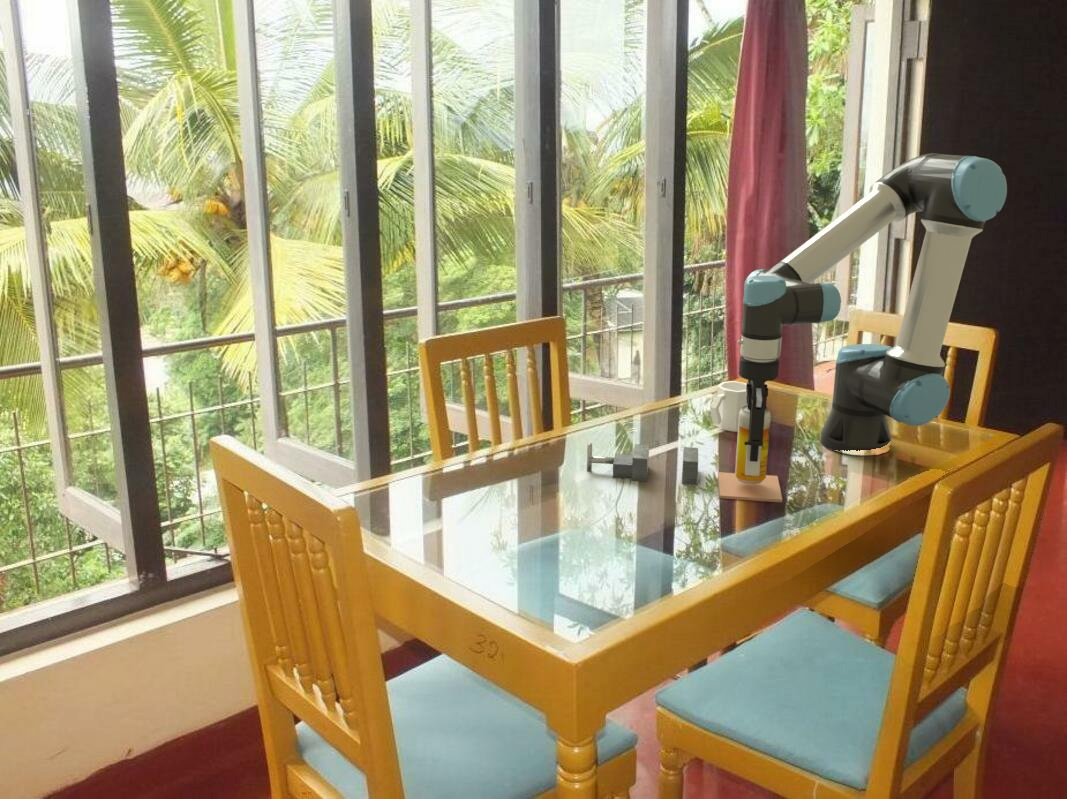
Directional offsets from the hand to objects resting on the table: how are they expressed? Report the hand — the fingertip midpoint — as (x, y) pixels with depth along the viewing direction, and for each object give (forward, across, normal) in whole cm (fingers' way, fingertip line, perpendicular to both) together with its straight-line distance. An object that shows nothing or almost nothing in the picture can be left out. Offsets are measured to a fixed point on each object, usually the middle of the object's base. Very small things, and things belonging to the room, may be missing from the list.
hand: (751, 468), depth 189 cm
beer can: (+3, 0, 0) cm, 3 cm away
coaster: (+4, 0, 0) cm, 4 cm away
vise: (+4, -4, -22) cm, 23 cm away
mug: (+5, -36, -3) cm, 36 cm away
